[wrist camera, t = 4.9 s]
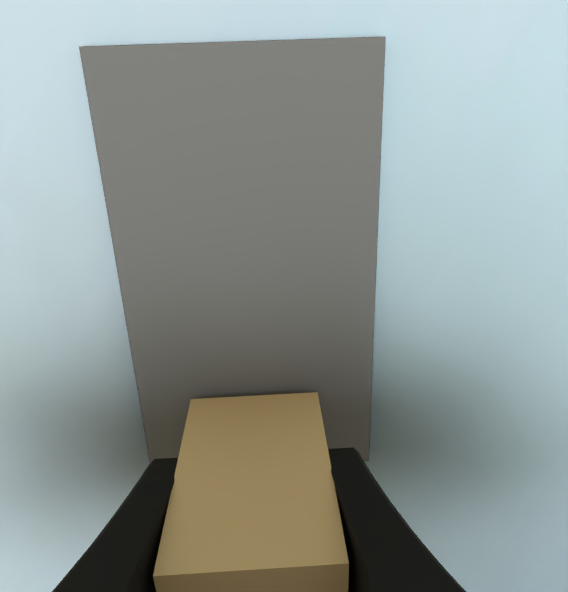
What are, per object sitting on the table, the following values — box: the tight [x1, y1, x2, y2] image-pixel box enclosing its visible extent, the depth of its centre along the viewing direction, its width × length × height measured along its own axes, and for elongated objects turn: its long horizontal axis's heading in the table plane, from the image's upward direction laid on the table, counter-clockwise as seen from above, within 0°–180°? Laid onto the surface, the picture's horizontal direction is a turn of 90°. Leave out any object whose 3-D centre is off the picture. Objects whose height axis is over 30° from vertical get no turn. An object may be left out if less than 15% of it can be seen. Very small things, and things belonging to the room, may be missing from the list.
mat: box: [79, 37, 385, 463], centre depth 11 cm, size 6×10×1 cm, turn 2°
